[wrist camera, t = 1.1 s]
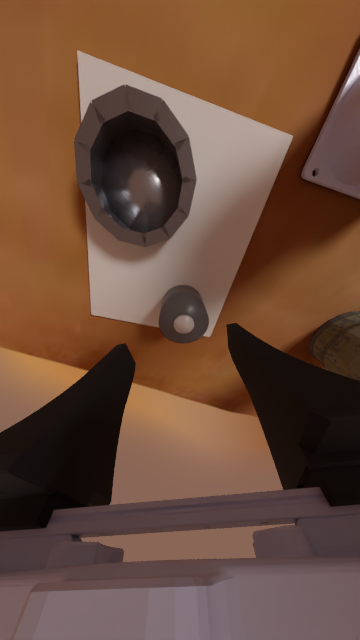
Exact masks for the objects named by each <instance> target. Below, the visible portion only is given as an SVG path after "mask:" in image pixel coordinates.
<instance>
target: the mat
mask: <svg viewBox="0 0 360 640" xmlns="http://www.w3.org/2000/svg"><path fill="white" fill-rule="evenodd" d="M77 53H78V72H79V91H80V110H81V122H82V120H83V118H84V115H85V113H86V111H87V108H88V106H89V104H90V102H91V103H92V101H91V100H93V99H95V98H97V97H99V96H101V95H103V94H105V93H107V92H109V91H111V90H113V89H115V88H117V87H120V86H122V85H125V84H126V85H129V86H131V87H134V88H137V89H139V90H142V91H144V92H147V93H150V94H152V95H155V96H157V97H160V98H162V100H164V101H165V103H166V104H167V105H168V107H169V108H170V110H171V111H172V113H173V114H174V116H175V117H176V118H177V120H178V121H179V123H180V124H181V126H182V127H183V128H184V130H185V131H186V133H187V134H188V137H189V139H190V145H191V150H192V156H193V161H194V167H195V172H196V178H197V181H196V186H195V190H194V195H193V199H192V204H191V208H190V213H189V216H188V217H187V219H186V220H185V221H184V222H183V224H182V225H181V226H180V227H179V228H178V230H177V231H176V232H175V233H174V235H173V236H172V237H171V238H170V239H168V240H165V241H162V242H159V243H157V244H154V245H151V246H148V247H142V246H138V245H135V244H131V243H127V242H123V241H119V240H118V239H117V238H115V237H114V236H113V235H112V234H111V233H110V232H109V231H108V230H106V229H105V228H104V227H103V226H102V225H101V224H100V223H99V222H97V221H96V220H95V218H94V217H93V215H92V213H91V211H90V209H89V207H88V205H87V203H86V200H85V205H86V224H87V243H88V262H89V281H90V300H91V315H95V316H101V317H106V318H111V319H117V320H122V321H127V322H132V323H138V324H143V325H148V326H154V327H159V315H160V311H161V306H162V301H163V297H164V295H165V294H166V292H167V291H168V290H169V289H171V288H173V287H175V286H178V285H188V286H191V287H193V288H195V289H196V290H197V291H198V292H199V293H200V295H201V297H202V300H203V303H204V305H205V308H206V311H207V314H208V317H209V326H208V329H207V331H206V332H205V334H204V335H203V336H207V337H210V336H211V334H212V331H213V329H214V326H215V324H216V322H217V319H218V317H219V314H220V312H221V309H222V307H223V305H224V302H225V300H226V297H227V295H228V293H229V290H230V288H231V285H232V283H233V281H234V278H235V276H236V273H237V271H238V268H239V266H240V264H241V261H242V259H243V256H244V254H245V252H246V249H247V247H248V244H249V242H250V240H251V237H252V235H253V232H254V230H255V227H256V225H257V223H258V220H259V218H260V215H261V213H262V211H263V208H264V206H265V203H266V201H267V199H268V196H269V194H270V191H271V189H272V186H273V184H274V182H275V179H276V177H277V174H278V172H279V170H280V167H281V165H282V162H283V160H284V158H285V155H286V153H287V150H288V148H289V145H290V143H291V141H292V138H293V136H292V135H289V134H287V133H284V132H282V131H279V130H277V129H274V128H272V127H269V126H267V125H264V124H262V123H259V122H256V121H254V120H251V119H249V118H246V117H244V116H241V115H239V114H236V113H234V112H231V111H229V110H226V109H224V108H221V107H219V106H216V105H214V104H211V103H209V102H206V101H204V100H201V99H199V98H196V97H194V96H191V95H189V94H186V93H183V92H181V91H178V90H176V89H173V88H171V87H168V86H166V85H163V84H161V83H158V82H156V81H153V80H151V79H148V78H146V77H143V76H141V75H138V74H136V73H133V72H131V71H128V70H126V69H123V68H121V67H118V66H115V65H113V64H110V63H108V62H105V61H103V60H100V59H98V58H95V57H93V56H90V55H88V54H85V53H83V52H80V51H78V50H77Z"/></svg>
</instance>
